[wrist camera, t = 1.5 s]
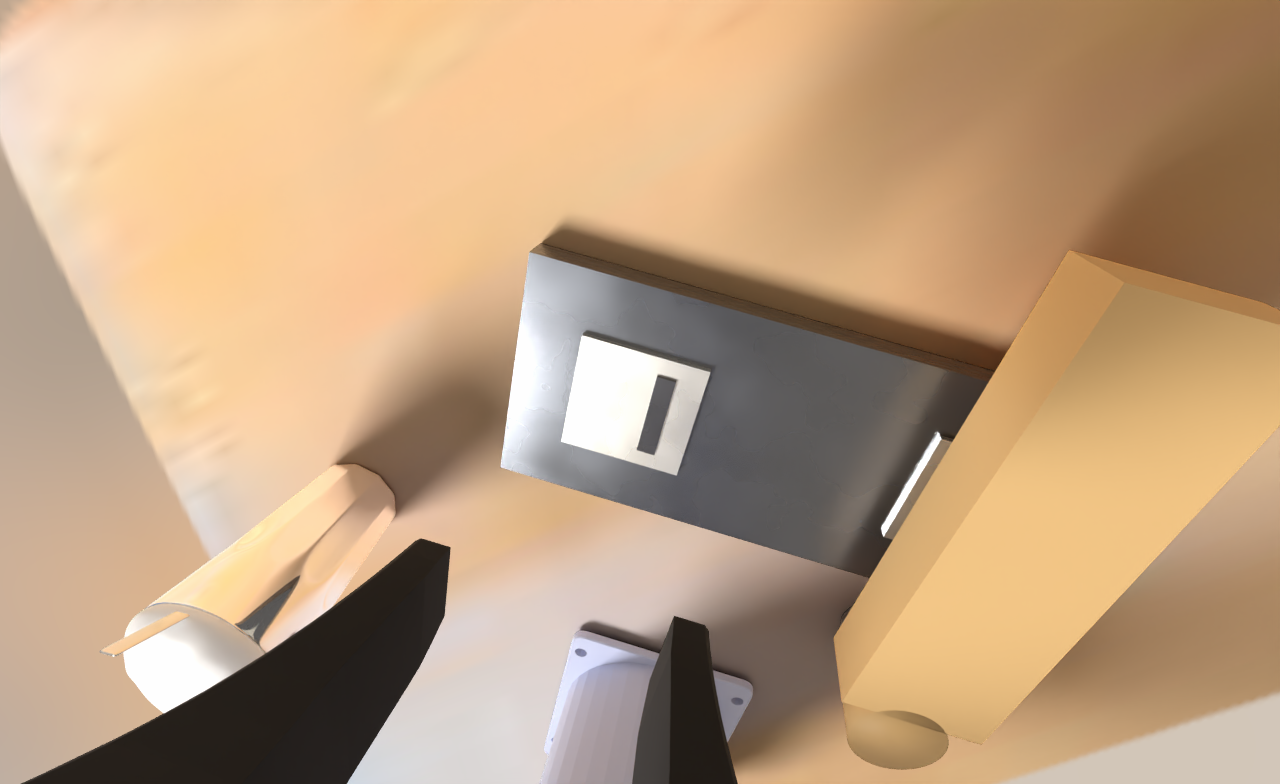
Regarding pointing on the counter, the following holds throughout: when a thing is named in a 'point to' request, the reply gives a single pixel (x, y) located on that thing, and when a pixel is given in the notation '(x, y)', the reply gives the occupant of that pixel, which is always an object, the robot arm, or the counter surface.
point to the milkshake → (257, 588)
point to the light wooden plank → (1054, 499)
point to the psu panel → (726, 410)
